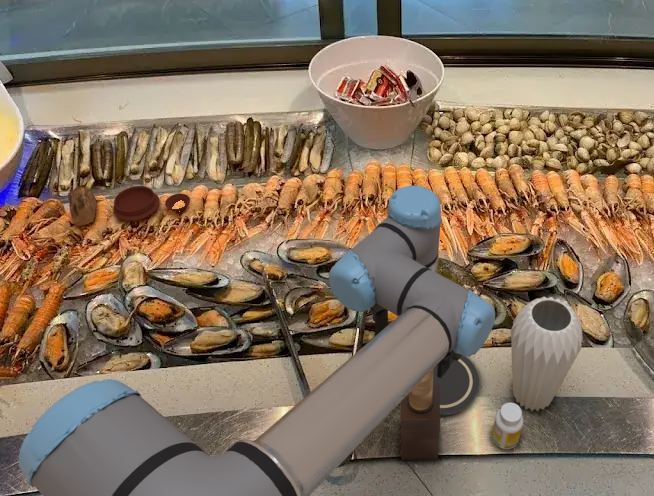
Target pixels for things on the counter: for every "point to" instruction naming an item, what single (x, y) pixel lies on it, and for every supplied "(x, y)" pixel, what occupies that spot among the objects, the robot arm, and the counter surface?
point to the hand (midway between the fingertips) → (411, 352)
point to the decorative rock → (82, 206)
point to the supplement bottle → (507, 426)
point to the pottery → (143, 203)
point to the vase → (543, 350)
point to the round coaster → (457, 386)
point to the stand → (420, 431)
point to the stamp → (422, 395)
